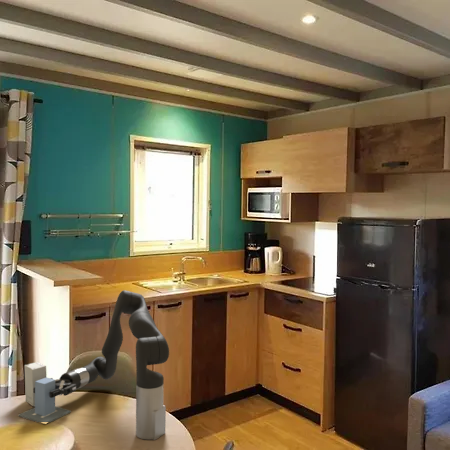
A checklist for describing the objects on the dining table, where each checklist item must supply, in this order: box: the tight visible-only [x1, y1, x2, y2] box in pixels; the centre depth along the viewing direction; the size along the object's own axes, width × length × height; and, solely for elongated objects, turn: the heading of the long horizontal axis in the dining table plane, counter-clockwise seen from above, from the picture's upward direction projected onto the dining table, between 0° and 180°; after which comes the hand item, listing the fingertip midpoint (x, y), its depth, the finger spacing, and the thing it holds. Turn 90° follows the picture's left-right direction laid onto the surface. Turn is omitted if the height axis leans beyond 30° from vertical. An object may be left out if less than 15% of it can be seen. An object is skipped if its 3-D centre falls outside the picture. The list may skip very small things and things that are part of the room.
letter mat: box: [18, 405, 72, 423], centre depth 177 cm, size 14×12×1 cm
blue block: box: [34, 377, 56, 416], centre depth 177 cm, size 5×5×12 cm
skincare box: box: [24, 361, 48, 407], centre depth 188 cm, size 8×6×15 cm
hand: (42, 392), depth 175 cm, fingers open, 8 cm apart
